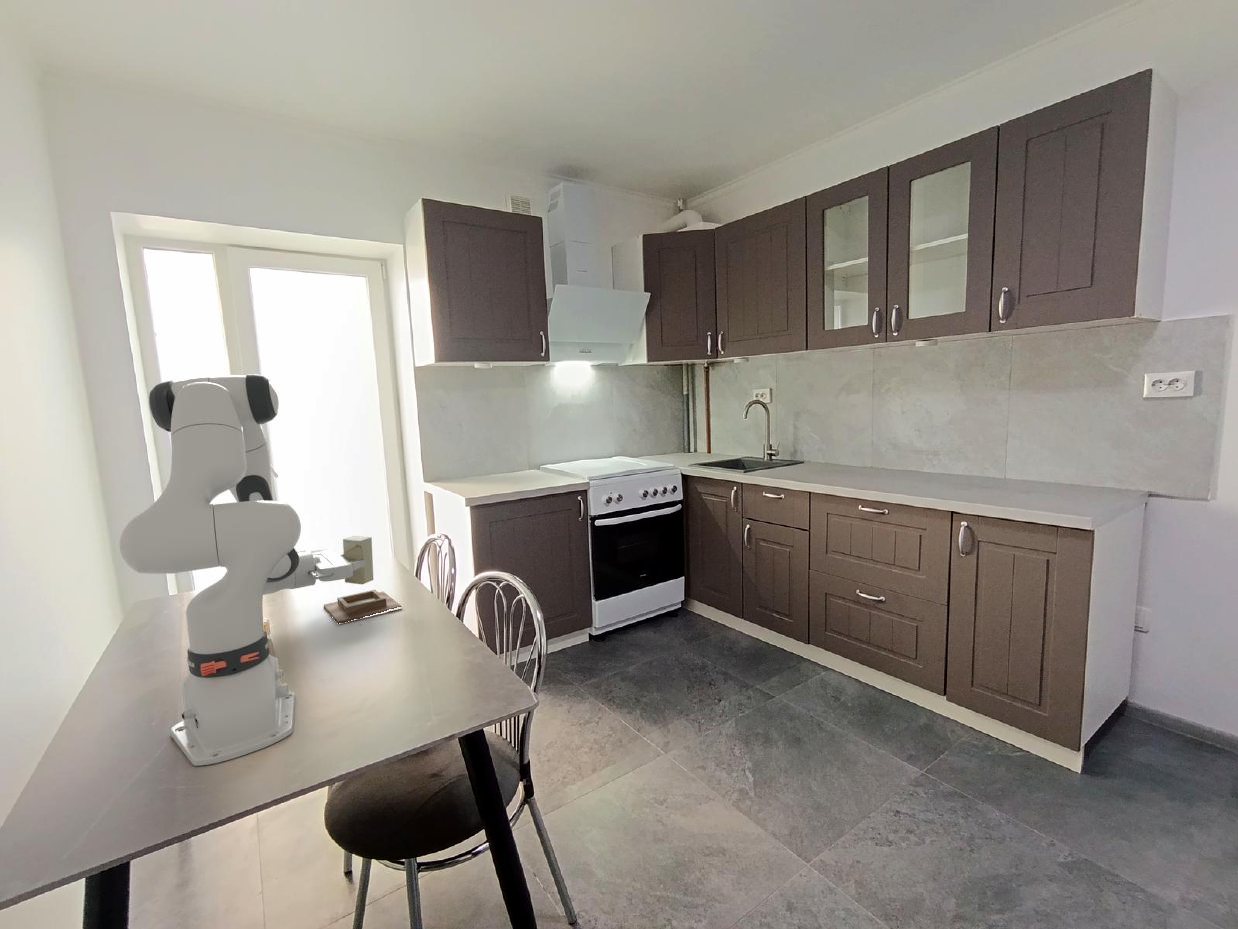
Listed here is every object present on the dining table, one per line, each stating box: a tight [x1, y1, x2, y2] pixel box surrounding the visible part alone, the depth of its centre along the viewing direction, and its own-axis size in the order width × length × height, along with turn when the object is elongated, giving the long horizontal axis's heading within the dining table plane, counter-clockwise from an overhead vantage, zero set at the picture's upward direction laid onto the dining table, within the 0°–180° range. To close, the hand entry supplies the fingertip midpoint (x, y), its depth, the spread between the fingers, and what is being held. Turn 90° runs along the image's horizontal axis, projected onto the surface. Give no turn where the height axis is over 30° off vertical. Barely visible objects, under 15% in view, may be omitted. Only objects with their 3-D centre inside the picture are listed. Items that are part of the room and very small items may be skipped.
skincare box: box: [342, 535, 374, 585], centre depth 156 cm, size 6×4×12 cm
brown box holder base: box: [323, 589, 402, 625], centre depth 157 cm, size 16×16×3 cm
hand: (361, 559), depth 156 cm, fingers closed on skincare box, 7 cm apart
